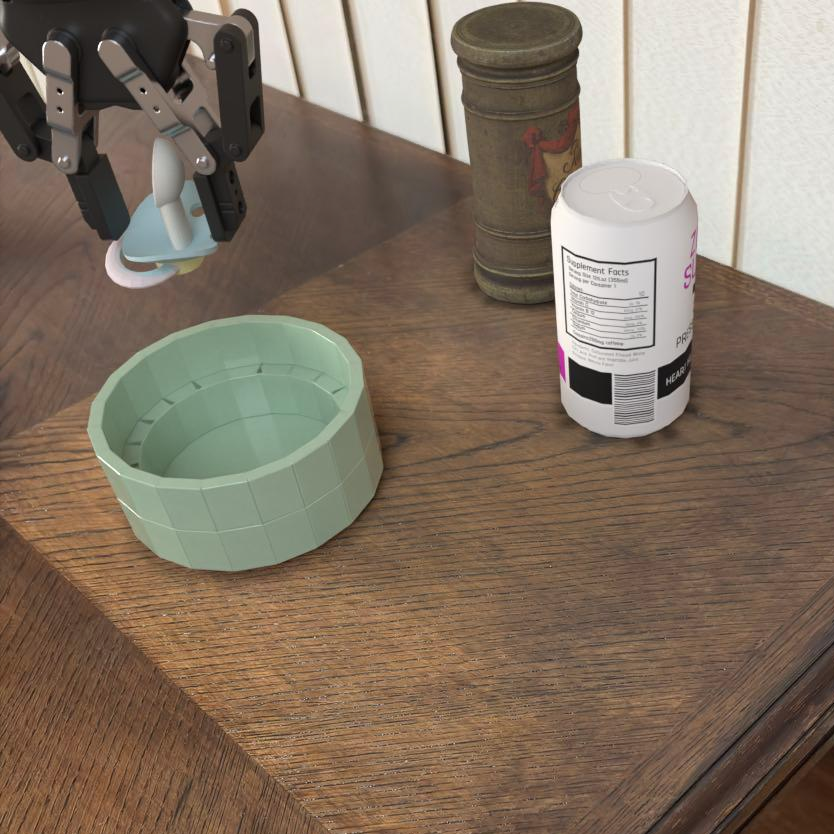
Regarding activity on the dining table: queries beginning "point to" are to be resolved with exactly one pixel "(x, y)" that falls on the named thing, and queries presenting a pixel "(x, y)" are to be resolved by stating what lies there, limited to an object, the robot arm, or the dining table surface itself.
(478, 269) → the container
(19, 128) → the robot arm
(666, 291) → the supplement can
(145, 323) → the dining table surface
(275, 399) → the bowl
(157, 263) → the pacifier
